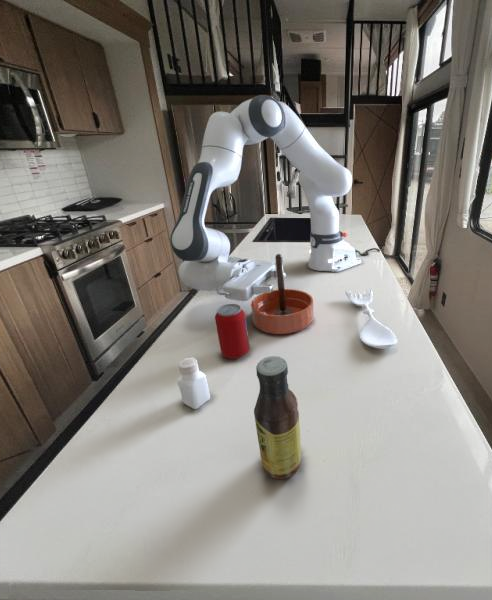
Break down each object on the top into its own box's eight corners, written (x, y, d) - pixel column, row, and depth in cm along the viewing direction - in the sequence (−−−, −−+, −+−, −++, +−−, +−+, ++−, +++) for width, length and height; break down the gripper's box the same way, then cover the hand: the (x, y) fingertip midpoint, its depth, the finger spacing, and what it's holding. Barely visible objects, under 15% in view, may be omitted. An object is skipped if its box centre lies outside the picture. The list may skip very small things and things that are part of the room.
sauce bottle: (263, 448, 54) (249, 349, 45) (301, 445, 54) (294, 346, 46) (260, 486, 48) (243, 380, 39) (302, 482, 48) (295, 376, 40)
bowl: (296, 301, 104) (295, 284, 101) (325, 324, 91) (324, 304, 88) (244, 316, 96) (242, 298, 93) (268, 343, 83) (266, 322, 80)
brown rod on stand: (287, 311, 96) (283, 250, 88) (295, 318, 92) (291, 254, 84) (271, 316, 94) (265, 253, 85) (279, 324, 90) (273, 258, 81)
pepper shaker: (195, 411, 62) (185, 371, 58) (182, 403, 64) (171, 364, 60) (212, 398, 65) (203, 359, 61) (198, 391, 67) (189, 353, 63)
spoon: (371, 296, 106) (372, 287, 104) (401, 353, 77) (403, 341, 76) (344, 298, 105) (344, 288, 104) (364, 355, 77) (365, 343, 75)
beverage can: (254, 347, 81) (249, 304, 76) (240, 363, 75) (233, 318, 70) (231, 343, 83) (224, 301, 78) (215, 358, 77) (207, 313, 72)
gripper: (210, 281, 81) (261, 286, 78) (248, 256, 99) (290, 259, 96) (214, 304, 84) (263, 309, 81) (250, 275, 102) (291, 279, 98)
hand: (278, 282), depth 88 cm, fingers open, 8 cm apart
